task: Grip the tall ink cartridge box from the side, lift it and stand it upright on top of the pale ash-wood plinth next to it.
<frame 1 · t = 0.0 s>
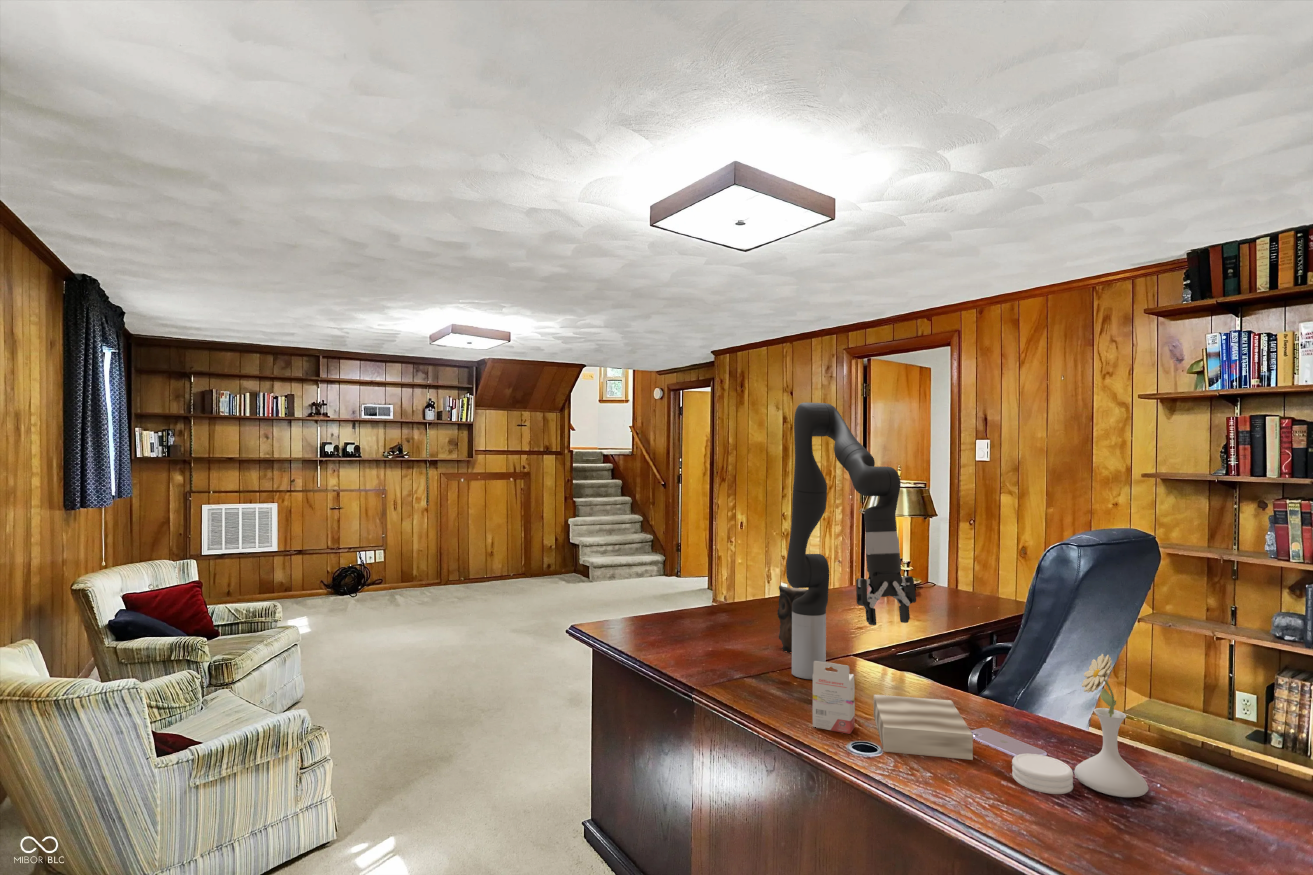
hand: (888, 623, 158), 22 cm above the table, tool pointing down, fingers open, 8 cm apart
coaster: (1042, 783, 129), on the table
plinth: (919, 736, 150), on the table
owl: (804, 651, 215), on the table
ink cartridge box: (833, 727, 155), on the table
flower in vase: (1109, 791, 126), on the table
mobile phone: (1004, 746, 146), on the table
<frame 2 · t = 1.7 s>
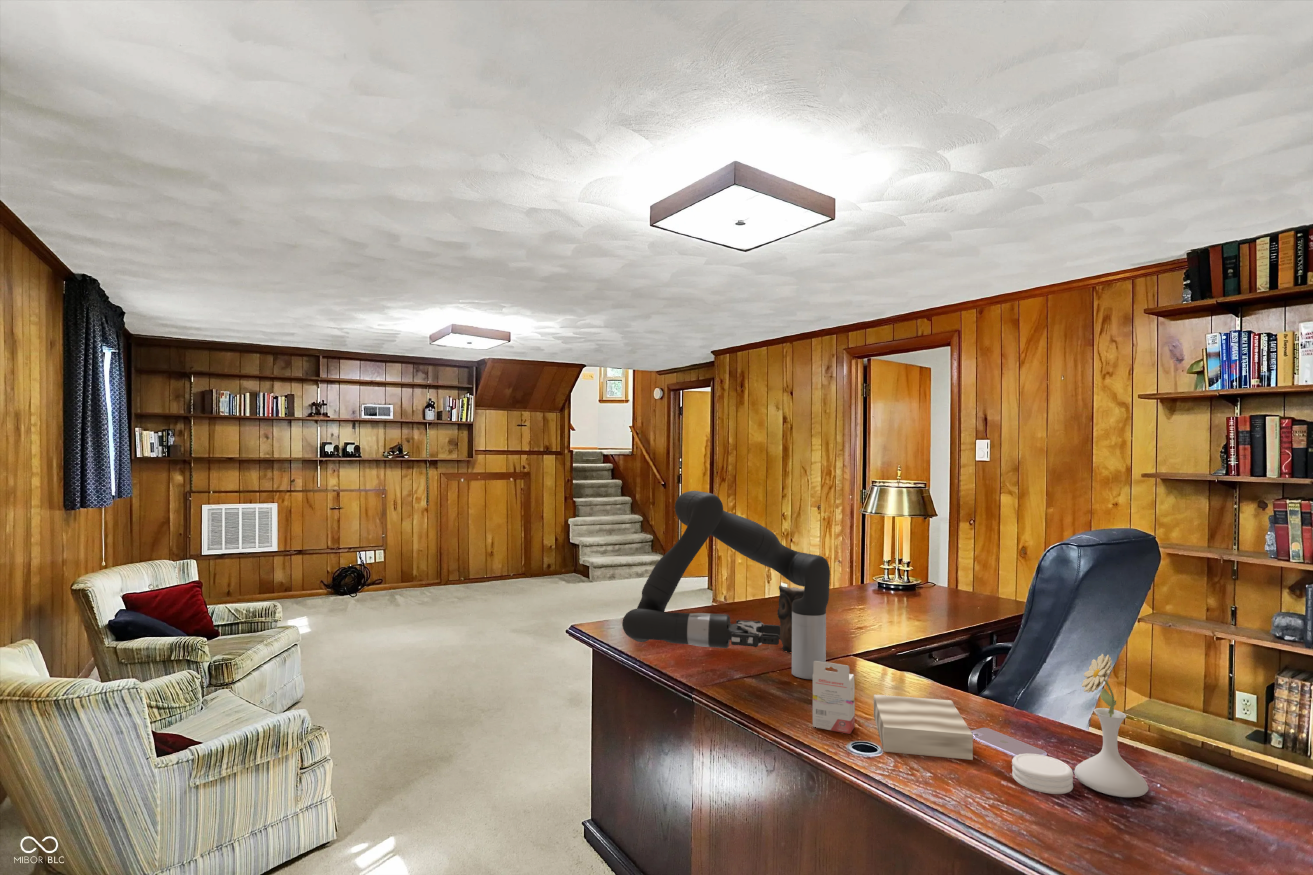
hand: (779, 634, 157), 20 cm above the table, tool horizontal, fingers open, 8 cm apart
nothing on the table moved.
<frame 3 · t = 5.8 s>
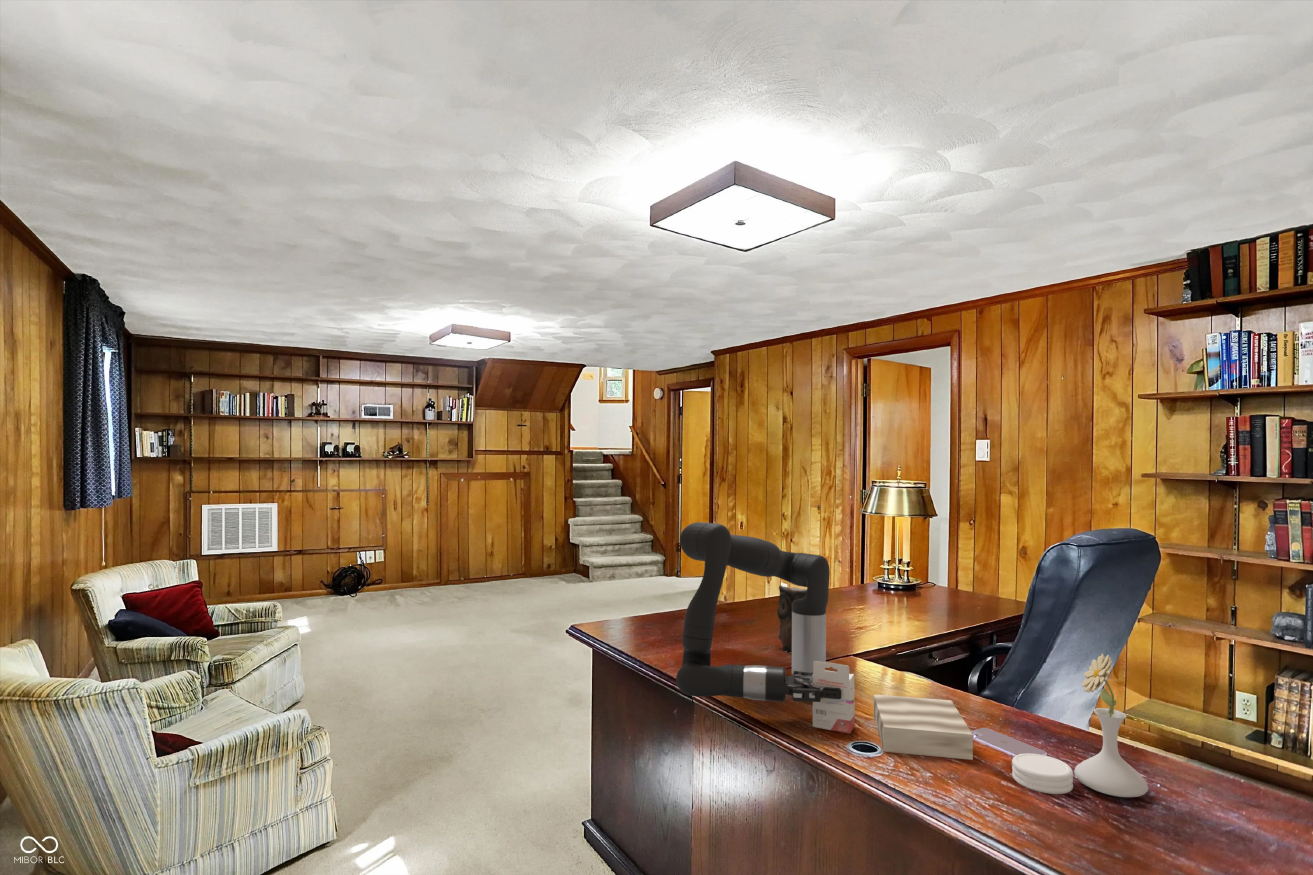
hand: (840, 688, 155), 9 cm above the table, tool horizontal, fingers closed on ink cartridge box, 6 cm apart
ink cartridge box: (833, 727, 155), on the table, touching gripper
everything else where it was.
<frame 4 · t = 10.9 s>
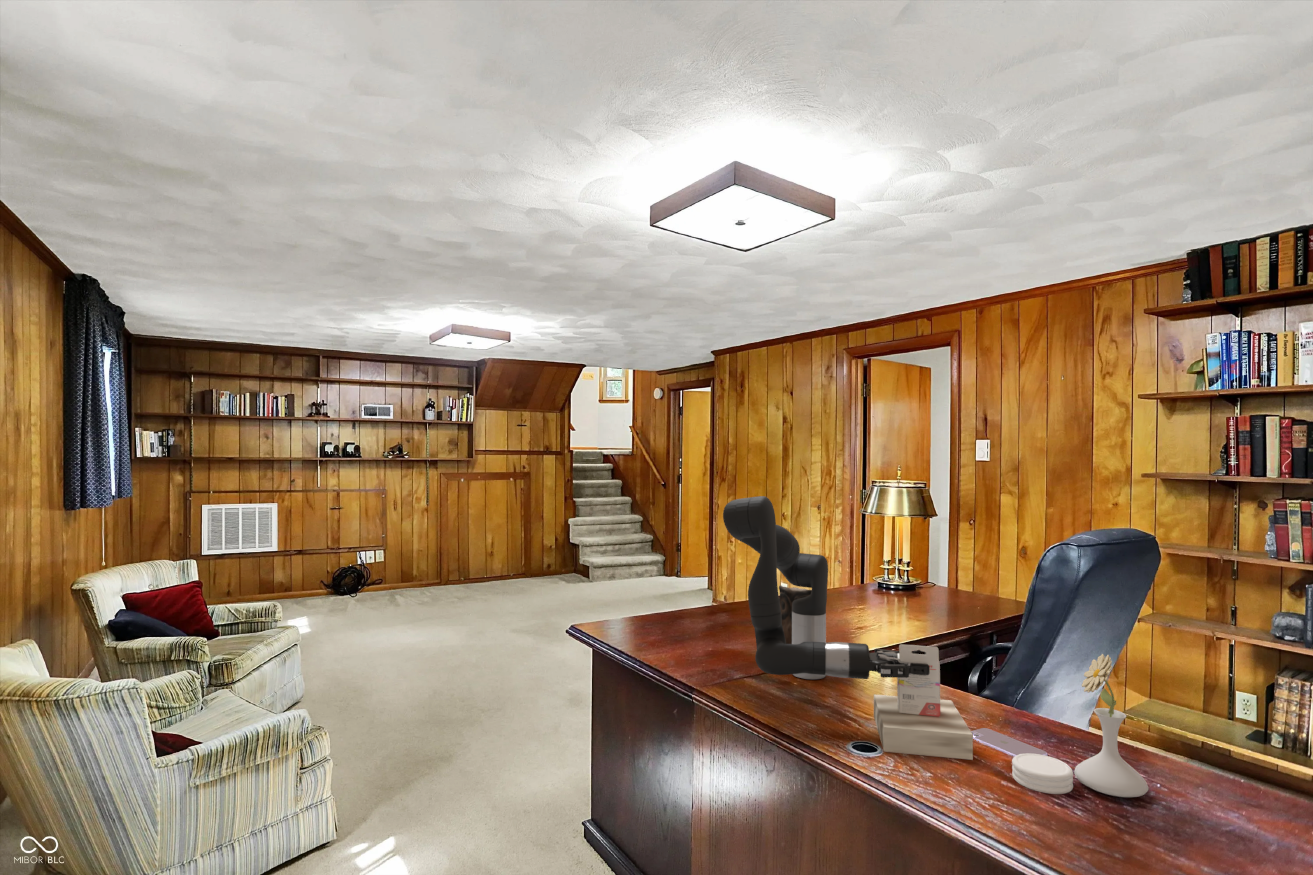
hand: (926, 665, 151), 15 cm above the table, tool horizontal, fingers closed on ink cartridge box, 5 cm apart
ink cartridge box: (918, 712, 151), point 5 cm above the table, touching gripper, plinth
everything else where it was.
when the fingers open (15 cm above the table, at t = 10.9 s): ink cartridge box stays where it is, resting on plinth.
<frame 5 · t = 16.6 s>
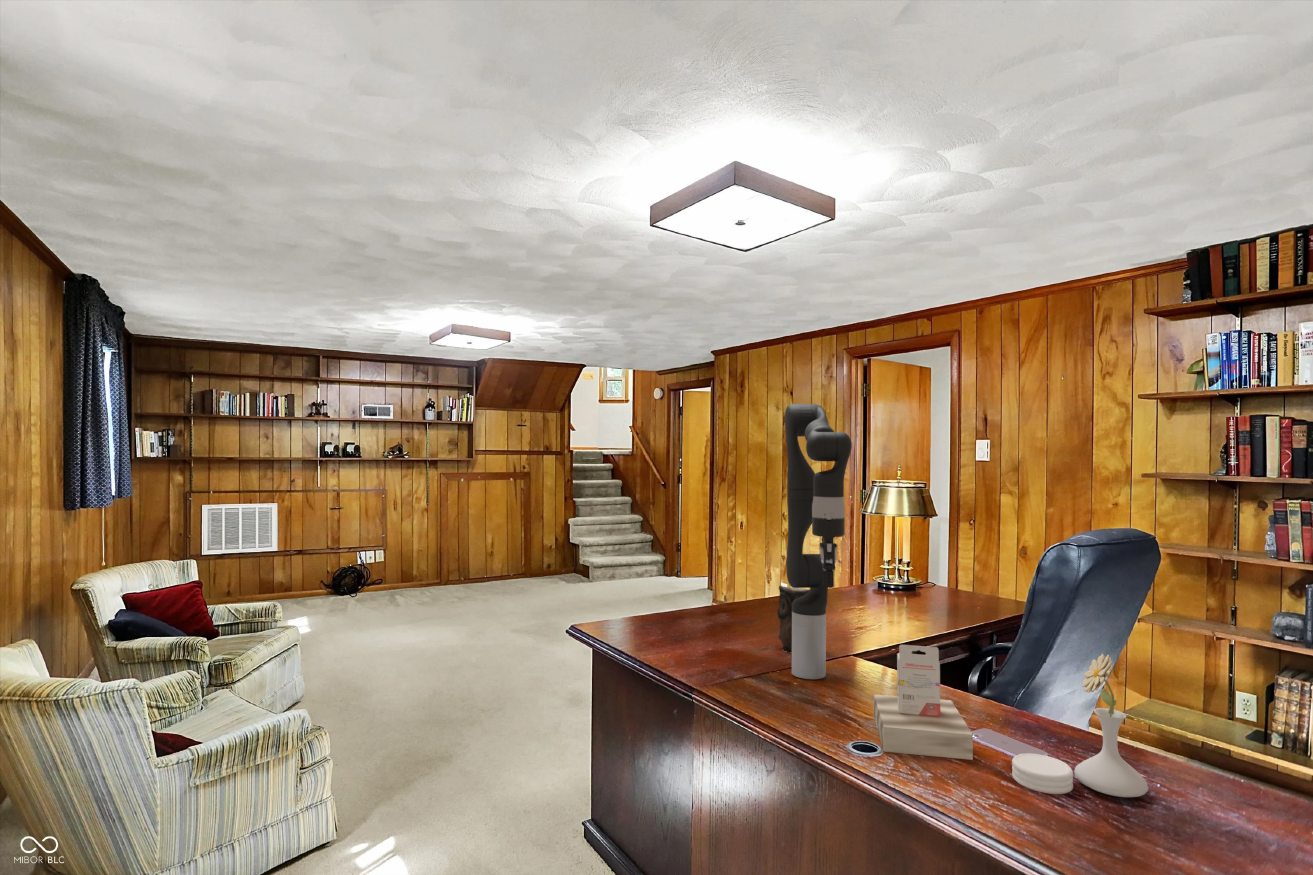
hand: (827, 584, 164), 30 cm above the table, tool pointing down, fingers open, 8 cm apart
ink cartridge box: (918, 712, 151), point 5 cm above the table, touching plinth
everything else where it was.
at the end: ink cartridge box inside the target area on the plinth (0.8 cm from its centre), point 4.8 cm above the plinth's base; ink cartridge box tilted 0°; the gripper is holding nothing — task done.
